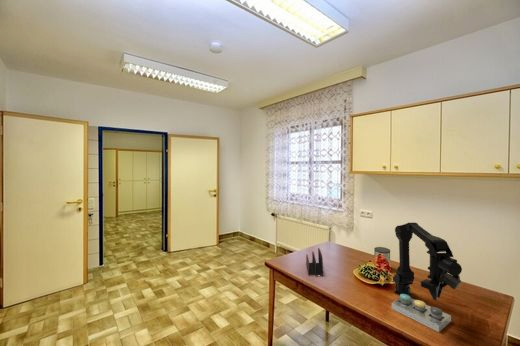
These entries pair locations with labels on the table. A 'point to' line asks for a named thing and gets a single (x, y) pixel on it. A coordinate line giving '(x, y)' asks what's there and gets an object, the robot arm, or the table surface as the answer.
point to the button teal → (405, 299)
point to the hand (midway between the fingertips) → (436, 298)
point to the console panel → (421, 315)
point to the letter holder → (315, 264)
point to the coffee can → (382, 252)
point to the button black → (436, 313)
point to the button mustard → (420, 306)
